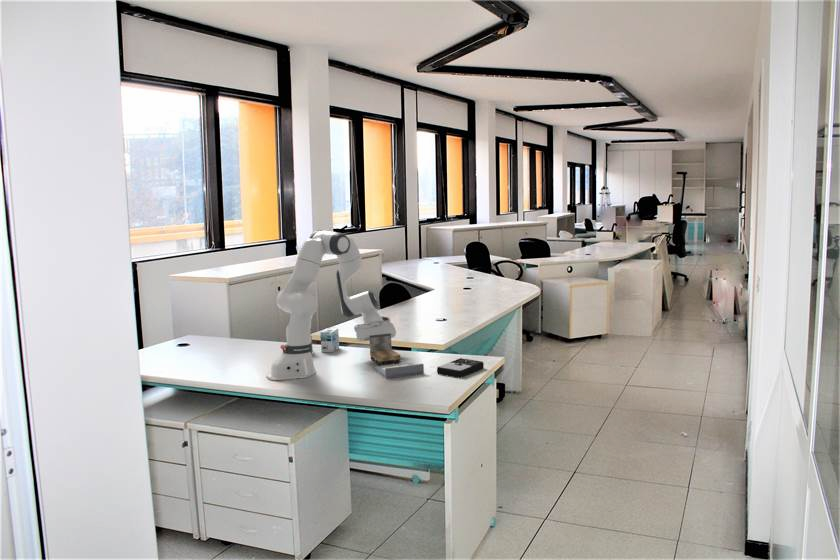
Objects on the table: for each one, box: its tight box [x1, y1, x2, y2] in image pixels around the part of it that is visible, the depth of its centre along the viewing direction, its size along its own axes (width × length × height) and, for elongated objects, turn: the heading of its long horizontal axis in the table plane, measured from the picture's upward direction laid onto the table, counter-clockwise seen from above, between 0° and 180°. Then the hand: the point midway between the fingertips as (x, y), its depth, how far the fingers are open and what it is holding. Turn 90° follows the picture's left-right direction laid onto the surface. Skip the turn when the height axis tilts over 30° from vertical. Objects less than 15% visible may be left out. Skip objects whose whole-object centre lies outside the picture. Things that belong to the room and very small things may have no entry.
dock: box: [370, 361, 425, 380], centre depth 319 cm, size 18×24×6 cm
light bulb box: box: [320, 327, 340, 353], centre depth 363 cm, size 11×7×11 cm, turn 168°
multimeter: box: [436, 357, 485, 379], centre depth 313 cm, size 13×19×5 cm
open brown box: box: [369, 333, 402, 366], centre depth 334 cm, size 11×14×12 cm
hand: (379, 345), depth 341 cm, fingers closed, pressing on open brown box
